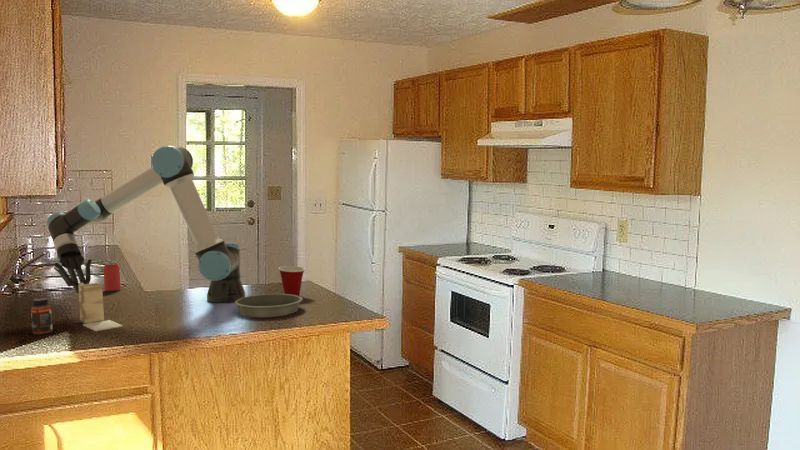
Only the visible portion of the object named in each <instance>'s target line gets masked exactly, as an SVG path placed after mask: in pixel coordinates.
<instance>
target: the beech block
mask: <svg viewBox="0 0 800 450" xmlns="http://www.w3.org/2000/svg"><path fill="white" fill-rule="evenodd" d="M78 288H79V294H78V300H79V301H78V303H79V304H78V305H79V319H80V321H79V322H80V323H82V324H88V323H94V322H100V321H105V313H104V295H103V284H100V283H98V282H93V283H89V284H84V285H78Z"/></svg>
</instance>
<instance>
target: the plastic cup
mask: <svg viewBox="0 0 800 450" xmlns="http://www.w3.org/2000/svg"><path fill="white" fill-rule="evenodd" d="M278 270H279V274H280V278H281V283H282V289H283V294H290V295H296V296H300V295H301V294H300V293H301V288H302V282H303V281H302V280H303V276H304V273H305V271H306V268H305V267H302V266H295V265H291V266H289V265H287V266H286V265H283V266H279V267H278Z"/></svg>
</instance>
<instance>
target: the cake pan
mask: <svg viewBox="0 0 800 450" xmlns="http://www.w3.org/2000/svg"><path fill="white" fill-rule="evenodd" d="M302 301H303V297H301V296H300V295H299V296H296V295H290V294H284V293H263V294H261V293H260V294H254V295H248V296H246V297H243V298H240V299H238V300H236V301H235V302H234V303H235V305H236V306H237V308H238V312H239V314H240V315H242V316H243V317H250V318H274V317H275V318H276V317H282V316H283V317H284V316H288V315H290V314H292V315H293V314H294V313H296V312H298V310H299V308H300V303H301V302H302Z"/></svg>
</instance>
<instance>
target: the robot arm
mask: <svg viewBox="0 0 800 450" xmlns="http://www.w3.org/2000/svg"><path fill="white" fill-rule="evenodd" d="M193 165H194V159H193V156H192V153H191V152H190V150H188V149H187V148H185V147H182V146H179V145H178V146H177V145H176V146H175V145H172V144H168V145H164V146H161V147H158V148H157V149H156V150H155V151H154V152H153V154H152V157H151V167H150V168H148V169H146V170H145V171H143V172H141V173H139V174H138V175H136V176H135V177H133V178H131V179H130V180H128V181H127V182H125V183H123V184H121V185H120V186H118V187H116V188H115V189H114V190H113V189H112V191H110V192H108V193H107V194H105V195H103V196H102V197H100V198H98V199H97V200H92V199H86V200H84V201H82V202H80V203H79V204H78V205H77V206H75V207H73V208H71V209H70V210H69V211H68V212H66V213H64V212H56V213H52V214H51V215H49V216H48V218H47V220H46V225H47V229H48V231H49V234H50V236H51V239H52V242H53V245H54V248H55V250H56V254H57V257H58V260H59V261H58V262H55V263H54V265H53V266H54V267H53V270H55V271H56V272H57V273H58V274H59V275H60V276H61V278H62V279H63V281H64V282H65V284H66V285H67V287H73V289H74V290H75V293H76V294H78V295H79V288H78V285H84V284H91V275H92V273H91V264H92V262H93V260H92V259H88V260H87V259H85V257H84V256H83V255H82V252H81V250H80V249H81V248H80V247H79V245H78V241H77V239H76V236H75V233H76V232H77V231H79V230H80V229H82V228H83V227H85V226H87V225H88V224H93V223H100V222H103V221H104V220H107V219H108V217H110V216H111V215H113V213H115V212H117V211H119V210H121V209H122V208H124V207H126V206H127V205H129V204H131V203H132V202H135V200H137V199H140V198H141V197H143V196H144V195H146V194H148V193H149V192H151V191H152V190H154V189H156V188H158V187H159V186H161V185H163V184H164V185H163V186H164V187H166V188H168V189H170V191H171V193H172V195H173V197H174V199H175V202H176V204H177V206H178V208H179V210H180V213H181V215H182V217H183V219H184V222H185V224H186V226H187V228H188V230H189V233H190V234H191V237H192V239H193V242H194V244H195V246H196V248H195V250H194V253H195V256H196V258H197V260H198V271H199V273H200V274H201V276H202V277H203V278H205V279H207V280H209V281H210V282H209V283H210V284H209V287H208V291H207V293H206V300H207V302H210V303H215V304H216V303H220V304H221V303H233V302H234V303H235V301H236V300H238V299H240V298H243V297H247V296H246V291H245V288H244V285H243V283H242V279H241V258H240V255H241V253H240V252H241V250H240V245H239V244H238V243H237V242H225V240H224V239H222V238H219V236H218V234H217V232H216V229H215V227H214V225H213V223H212V221H211V219H210V217H209V215H208V212H207V210H206V207H205V206H204V203H203V201H202V198H201V196H200V193H199V192H198V189H197V188H196V185H195V183H194V180H193V178H194V176H195V173H194V171H193V169H192V168H193ZM82 265H84V267H85V268H84V269H85V272H83V269H82ZM66 270H67V271H66ZM84 273H85V274H84Z"/></svg>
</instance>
